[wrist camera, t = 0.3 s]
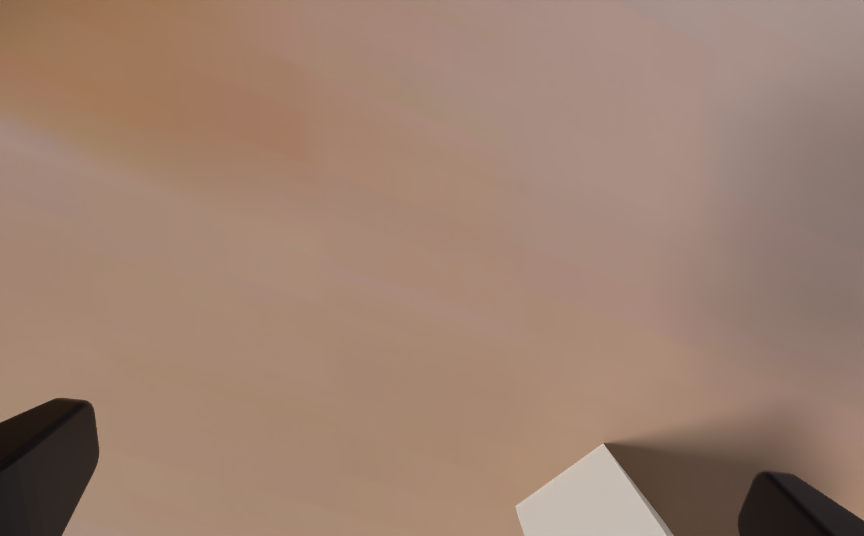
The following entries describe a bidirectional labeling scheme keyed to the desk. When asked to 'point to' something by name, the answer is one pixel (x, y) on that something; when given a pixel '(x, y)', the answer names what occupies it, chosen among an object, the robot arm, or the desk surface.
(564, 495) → the small block
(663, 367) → the desk surface
